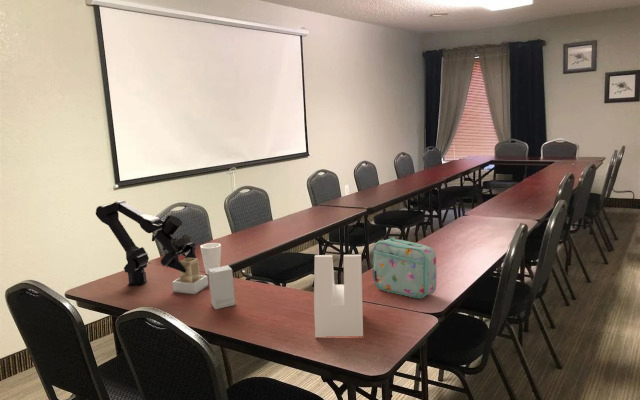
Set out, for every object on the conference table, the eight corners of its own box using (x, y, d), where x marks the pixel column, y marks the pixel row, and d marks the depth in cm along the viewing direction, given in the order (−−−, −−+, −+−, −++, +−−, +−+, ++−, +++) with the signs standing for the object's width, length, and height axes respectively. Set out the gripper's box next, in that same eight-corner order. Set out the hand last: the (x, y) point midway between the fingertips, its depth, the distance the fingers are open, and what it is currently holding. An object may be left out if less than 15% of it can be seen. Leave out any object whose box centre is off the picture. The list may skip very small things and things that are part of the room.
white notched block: (363, 339, 163) (361, 264, 158) (315, 339, 164) (312, 264, 159) (362, 315, 182) (360, 247, 177) (319, 315, 183) (317, 248, 178)
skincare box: (231, 300, 200) (228, 264, 197) (235, 305, 195) (233, 268, 192) (210, 305, 196) (207, 268, 194) (214, 310, 191) (211, 272, 188)
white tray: (173, 291, 212) (172, 281, 211) (187, 283, 222) (186, 273, 221) (194, 294, 209) (193, 283, 208) (208, 285, 218) (207, 275, 217)
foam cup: (218, 276, 231) (215, 248, 228) (199, 275, 232) (196, 248, 230) (225, 269, 240) (224, 243, 237) (207, 269, 242) (205, 242, 239)
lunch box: (367, 288, 208) (366, 237, 204) (382, 281, 215) (382, 232, 211) (424, 303, 190) (424, 248, 186) (438, 295, 197) (439, 242, 193)
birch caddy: (181, 289, 213) (178, 261, 211) (189, 284, 219) (187, 257, 217) (192, 290, 211) (189, 262, 209) (200, 285, 217) (198, 258, 215)
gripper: (163, 234, 203) (189, 263, 202) (190, 224, 221) (214, 250, 219) (149, 252, 208) (174, 280, 206) (177, 240, 225) (200, 266, 223)
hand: (192, 268), depth 213 cm, fingers open, 9 cm apart
